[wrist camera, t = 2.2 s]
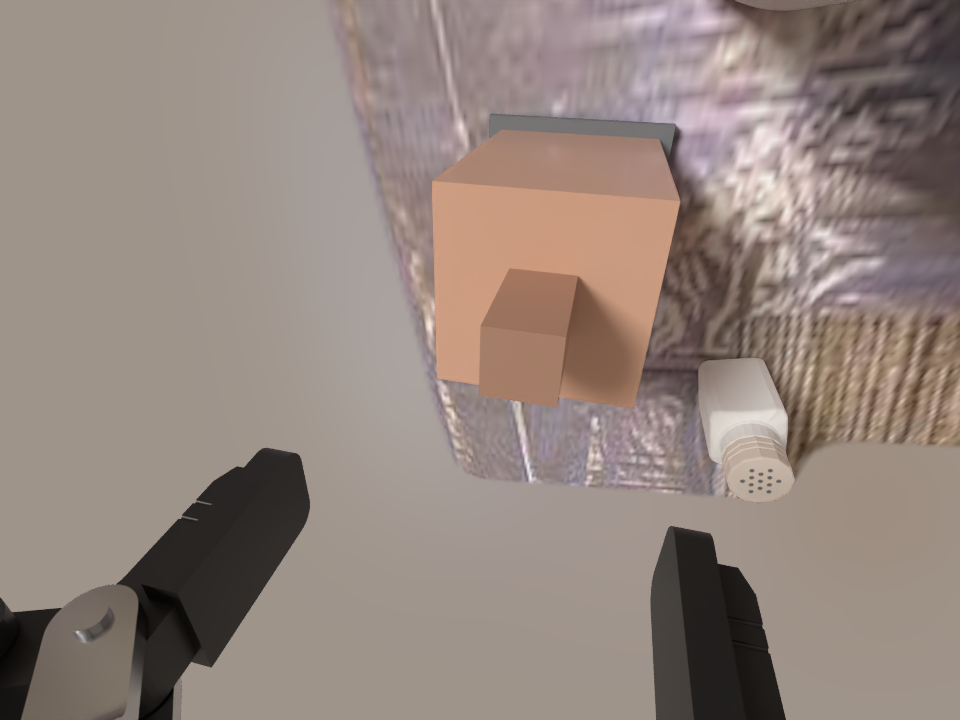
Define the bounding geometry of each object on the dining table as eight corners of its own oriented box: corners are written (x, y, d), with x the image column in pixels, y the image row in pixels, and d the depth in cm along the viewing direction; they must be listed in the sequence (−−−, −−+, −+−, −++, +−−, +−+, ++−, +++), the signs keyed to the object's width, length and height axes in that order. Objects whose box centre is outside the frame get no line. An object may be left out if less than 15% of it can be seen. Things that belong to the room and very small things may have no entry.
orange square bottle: (659, 139, 28) (697, 250, 13) (631, 287, 32) (636, 490, 18) (501, 129, 29) (380, 219, 15) (495, 272, 34) (398, 448, 19)
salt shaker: (764, 353, 33) (807, 450, 25) (761, 404, 35) (801, 509, 27) (697, 357, 34) (718, 452, 27) (698, 406, 36) (718, 508, 28)
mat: (674, 123, 28) (675, 125, 27) (640, 294, 33) (640, 298, 33) (491, 113, 30) (489, 115, 29) (486, 277, 35) (484, 280, 34)
